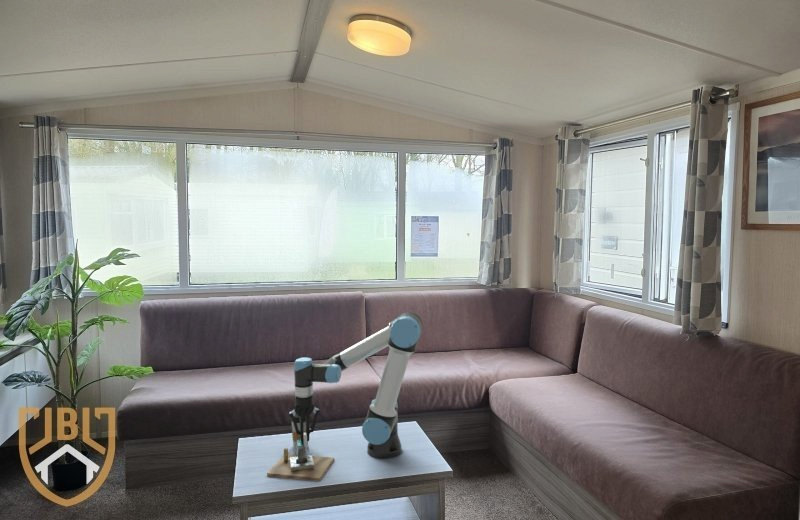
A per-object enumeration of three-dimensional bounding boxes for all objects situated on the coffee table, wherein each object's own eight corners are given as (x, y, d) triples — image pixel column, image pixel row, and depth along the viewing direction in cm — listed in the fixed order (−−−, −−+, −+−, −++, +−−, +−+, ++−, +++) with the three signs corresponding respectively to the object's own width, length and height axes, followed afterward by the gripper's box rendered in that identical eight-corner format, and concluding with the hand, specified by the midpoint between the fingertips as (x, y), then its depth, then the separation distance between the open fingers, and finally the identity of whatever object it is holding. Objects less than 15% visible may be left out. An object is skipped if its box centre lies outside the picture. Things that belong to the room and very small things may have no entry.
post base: (334, 460, 215) (334, 440, 215) (319, 481, 197) (319, 459, 197) (285, 456, 219) (285, 437, 219) (267, 476, 201) (266, 455, 201)
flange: (310, 451, 220) (310, 438, 220) (313, 468, 205) (313, 453, 205) (289, 453, 218) (289, 440, 218) (291, 470, 203) (290, 456, 202)
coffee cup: (305, 451, 223) (305, 418, 223) (288, 450, 225) (287, 417, 224) (312, 444, 232) (312, 411, 231) (295, 442, 233) (295, 410, 232)
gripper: (317, 390, 220) (318, 442, 222) (287, 393, 216) (288, 447, 218) (320, 395, 213) (321, 450, 215) (289, 399, 209) (290, 454, 211)
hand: (305, 448), depth 216 cm, fingers closed
